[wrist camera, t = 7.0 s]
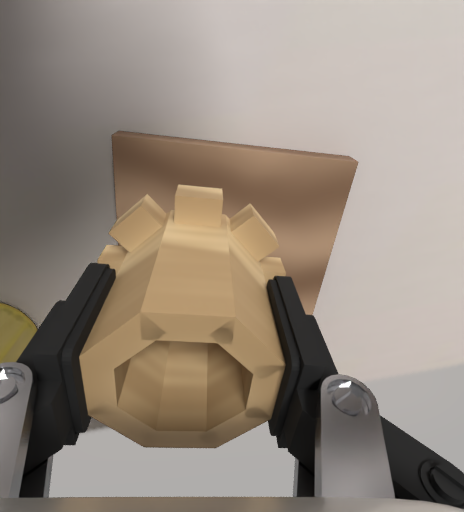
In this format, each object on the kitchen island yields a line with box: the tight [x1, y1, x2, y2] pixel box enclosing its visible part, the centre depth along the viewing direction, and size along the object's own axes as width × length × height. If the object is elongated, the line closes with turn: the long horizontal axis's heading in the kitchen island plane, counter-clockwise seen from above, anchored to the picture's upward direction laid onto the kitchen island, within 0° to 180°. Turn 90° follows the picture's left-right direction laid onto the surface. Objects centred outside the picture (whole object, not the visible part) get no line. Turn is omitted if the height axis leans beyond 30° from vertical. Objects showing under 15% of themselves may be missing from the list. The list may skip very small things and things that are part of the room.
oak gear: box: [79, 185, 286, 448], centre depth 11 cm, size 7×7×6 cm
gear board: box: [112, 131, 358, 315], centre depth 20 cm, size 16×14×8 cm
